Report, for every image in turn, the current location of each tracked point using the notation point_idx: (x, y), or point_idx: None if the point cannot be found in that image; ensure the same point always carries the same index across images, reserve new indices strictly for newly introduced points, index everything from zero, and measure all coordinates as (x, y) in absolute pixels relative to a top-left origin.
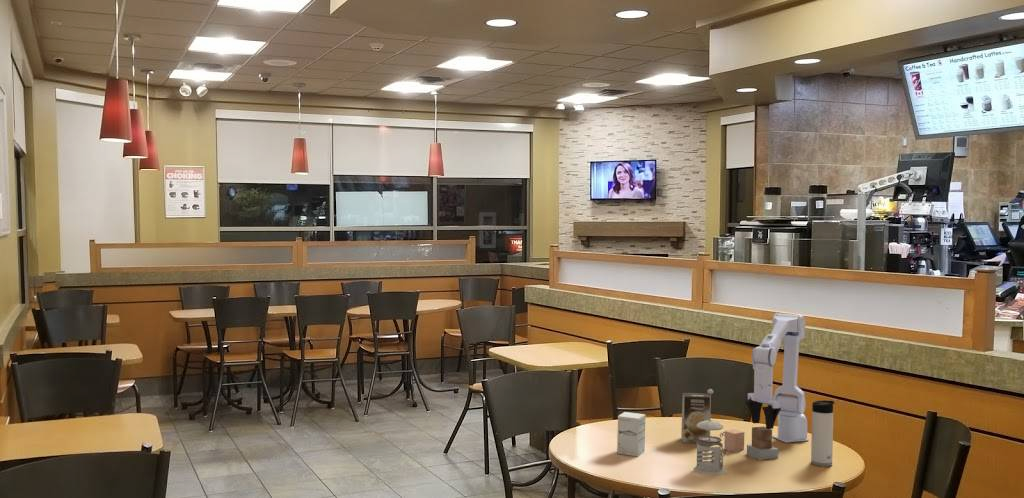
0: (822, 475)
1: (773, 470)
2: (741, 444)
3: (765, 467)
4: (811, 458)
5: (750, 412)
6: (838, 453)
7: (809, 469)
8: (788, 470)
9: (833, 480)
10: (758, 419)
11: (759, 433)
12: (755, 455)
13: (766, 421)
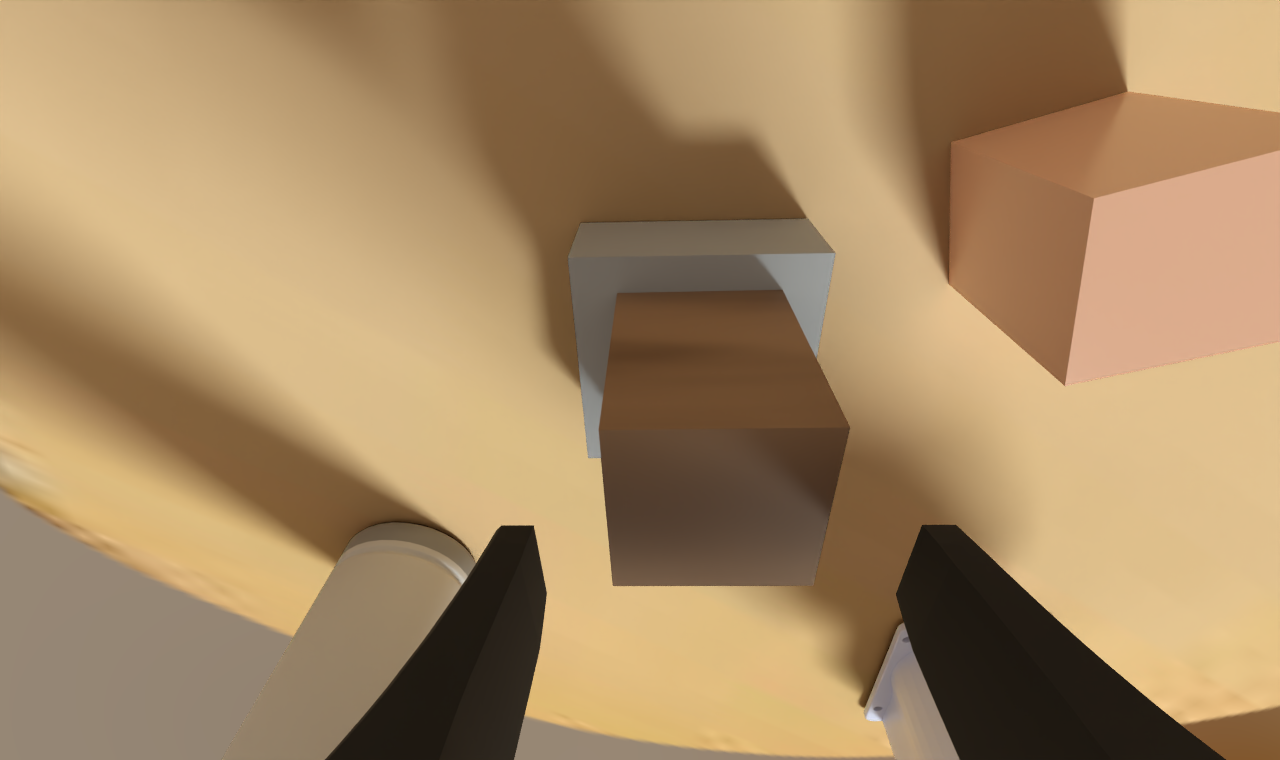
0: (127, 443)
1: (208, 150)
2: (980, 270)
3: (315, 129)
4: (418, 552)
5: (1137, 711)
6: (602, 702)
7: (278, 445)
8: (229, 290)
9: (9, 443)
10: (923, 644)
11: (619, 399)
12: (646, 230)
13: (446, 637)
